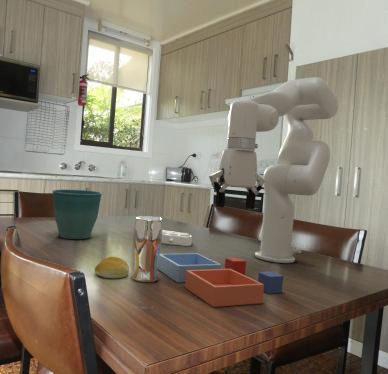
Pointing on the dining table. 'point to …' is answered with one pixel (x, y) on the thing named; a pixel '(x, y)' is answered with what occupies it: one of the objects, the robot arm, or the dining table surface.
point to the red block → (235, 264)
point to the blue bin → (184, 264)
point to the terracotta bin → (224, 287)
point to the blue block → (271, 282)
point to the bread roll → (112, 268)
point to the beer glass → (147, 247)
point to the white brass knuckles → (176, 238)
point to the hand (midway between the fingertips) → (235, 207)
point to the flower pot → (76, 212)
